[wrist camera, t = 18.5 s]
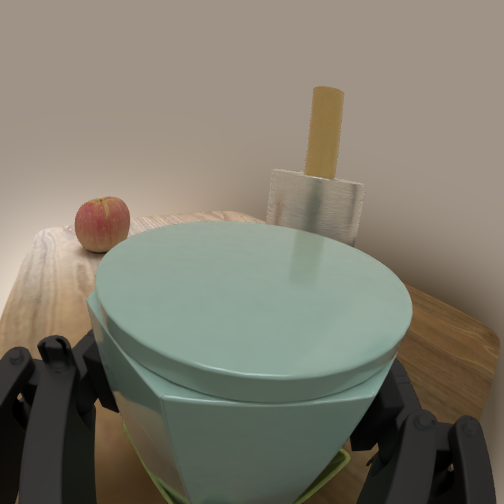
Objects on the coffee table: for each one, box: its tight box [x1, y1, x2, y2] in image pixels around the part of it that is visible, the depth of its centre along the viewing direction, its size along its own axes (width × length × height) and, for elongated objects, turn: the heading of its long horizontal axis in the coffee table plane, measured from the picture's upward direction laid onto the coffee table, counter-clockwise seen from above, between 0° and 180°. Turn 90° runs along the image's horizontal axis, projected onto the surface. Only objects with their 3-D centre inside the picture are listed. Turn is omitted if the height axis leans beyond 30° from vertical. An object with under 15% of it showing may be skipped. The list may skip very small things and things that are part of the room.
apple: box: [75, 197, 130, 252], centre depth 36 cm, size 9×9×8 cm
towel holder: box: [266, 86, 366, 248], centre depth 30 cm, size 14×14×24 cm
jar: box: [86, 221, 412, 504], centre depth 9 cm, size 8×8×10 cm
